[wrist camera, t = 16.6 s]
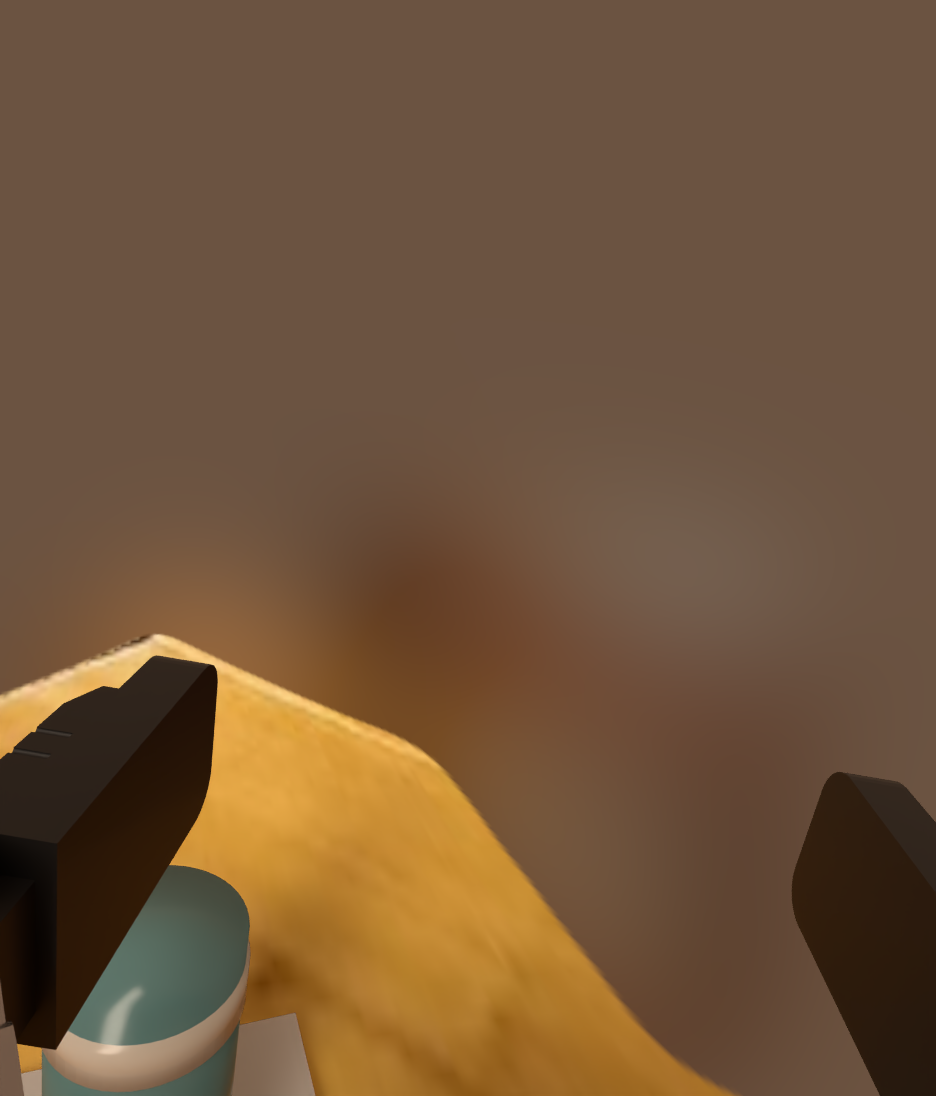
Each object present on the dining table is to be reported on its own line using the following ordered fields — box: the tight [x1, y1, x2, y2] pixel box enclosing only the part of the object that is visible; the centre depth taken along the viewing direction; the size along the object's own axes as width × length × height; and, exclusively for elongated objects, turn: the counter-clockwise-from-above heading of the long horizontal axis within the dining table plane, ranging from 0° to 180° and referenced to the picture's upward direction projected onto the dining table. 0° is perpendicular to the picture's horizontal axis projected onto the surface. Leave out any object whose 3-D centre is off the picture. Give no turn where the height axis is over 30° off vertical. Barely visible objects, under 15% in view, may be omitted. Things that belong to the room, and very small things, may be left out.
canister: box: [42, 865, 250, 1096], centre depth 23 cm, size 5×5×12 cm
